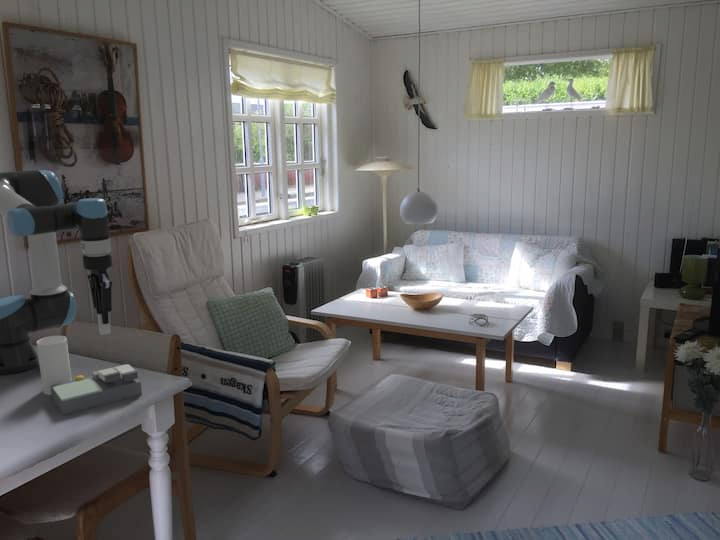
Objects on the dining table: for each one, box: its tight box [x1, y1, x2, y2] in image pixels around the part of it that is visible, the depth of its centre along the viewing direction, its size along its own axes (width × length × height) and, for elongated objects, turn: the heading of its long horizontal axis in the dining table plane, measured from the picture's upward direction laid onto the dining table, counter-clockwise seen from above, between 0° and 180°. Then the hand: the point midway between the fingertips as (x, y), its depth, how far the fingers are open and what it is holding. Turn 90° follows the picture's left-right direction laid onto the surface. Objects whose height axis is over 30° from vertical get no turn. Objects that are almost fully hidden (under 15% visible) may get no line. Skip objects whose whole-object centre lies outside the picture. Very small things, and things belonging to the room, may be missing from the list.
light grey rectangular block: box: [97, 367, 121, 383], centre depth 188 cm, size 2×4×8 cm
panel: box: [50, 363, 143, 415], centre depth 188 cm, size 14×22×7 cm, turn 128°
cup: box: [36, 335, 73, 396], centre depth 193 cm, size 8×8×16 cm
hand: (105, 333), depth 183 cm, fingers closed
